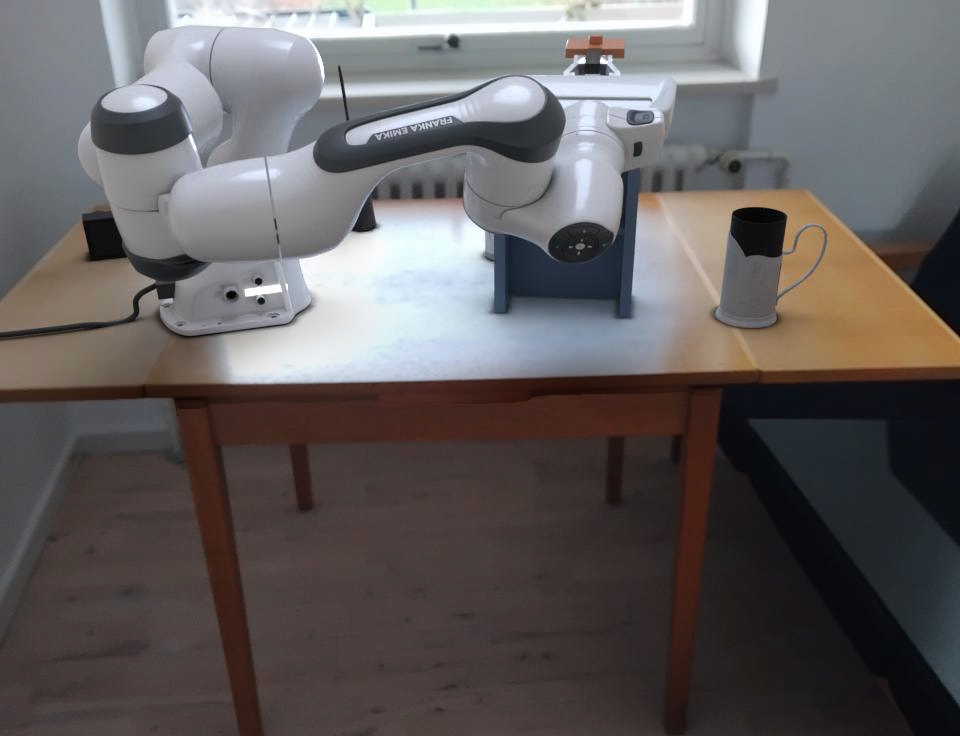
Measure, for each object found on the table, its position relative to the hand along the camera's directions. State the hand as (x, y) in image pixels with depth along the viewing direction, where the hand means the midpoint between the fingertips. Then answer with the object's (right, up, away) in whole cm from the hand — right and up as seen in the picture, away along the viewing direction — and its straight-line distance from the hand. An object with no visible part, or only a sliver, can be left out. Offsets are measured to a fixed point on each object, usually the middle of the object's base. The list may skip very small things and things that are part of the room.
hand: (593, 59), depth 125 cm
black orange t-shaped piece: (+1, +2, +5) cm, 5 cm away
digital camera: (-76, -12, +52) cm, 93 cm away
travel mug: (-10, -14, +48) cm, 50 cm away
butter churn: (-35, -5, +62) cm, 72 cm away
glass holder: (+28, -28, +24) cm, 46 cm away
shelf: (-1, -25, +29) cm, 38 cm away
